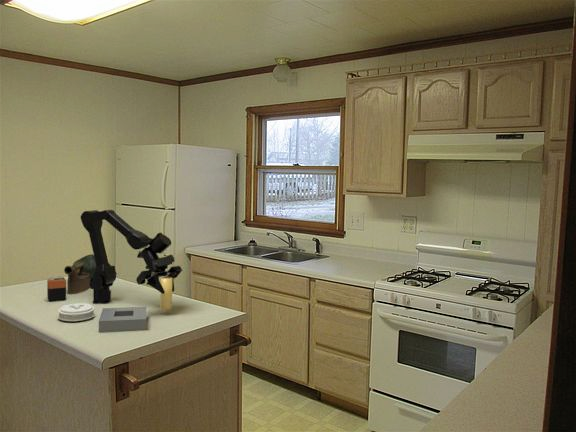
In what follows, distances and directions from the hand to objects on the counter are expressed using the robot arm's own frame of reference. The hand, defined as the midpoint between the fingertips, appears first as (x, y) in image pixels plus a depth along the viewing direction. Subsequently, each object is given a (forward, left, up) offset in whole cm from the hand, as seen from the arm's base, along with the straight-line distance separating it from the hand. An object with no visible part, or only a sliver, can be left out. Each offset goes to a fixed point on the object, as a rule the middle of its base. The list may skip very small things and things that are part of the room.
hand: (168, 292), depth 193 cm
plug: (-1, +1, -7) cm, 7 cm away
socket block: (-16, -9, -9) cm, 21 cm away
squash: (-37, +59, -9) cm, 70 cm away
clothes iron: (-40, +43, -9) cm, 59 cm away
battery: (-45, +28, -9) cm, 54 cm away
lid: (-34, +1, -10) cm, 35 cm away
